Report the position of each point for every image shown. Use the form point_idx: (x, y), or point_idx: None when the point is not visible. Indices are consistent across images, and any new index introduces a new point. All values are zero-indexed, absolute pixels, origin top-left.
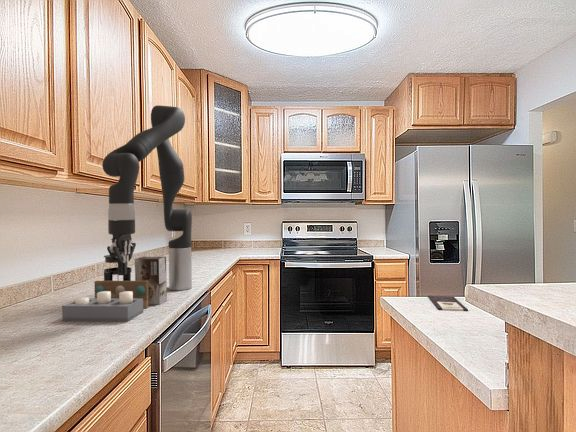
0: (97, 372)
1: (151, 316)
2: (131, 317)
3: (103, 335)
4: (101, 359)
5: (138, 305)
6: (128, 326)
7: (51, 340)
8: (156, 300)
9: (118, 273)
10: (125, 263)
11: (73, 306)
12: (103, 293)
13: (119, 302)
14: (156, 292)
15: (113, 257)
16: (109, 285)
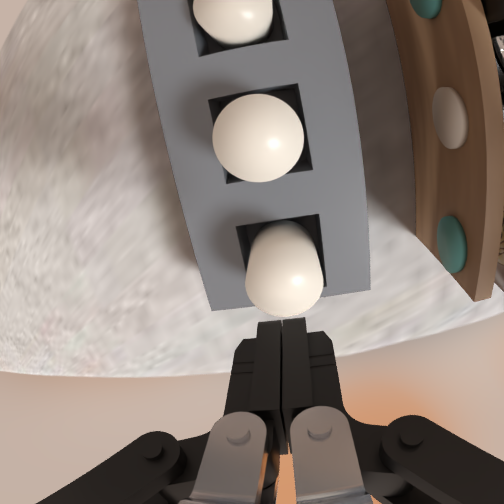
0: (15, 367)
1: (304, 316)
2: None
3: (92, 286)
4: (31, 354)
5: None
6: (179, 307)
7: (20, 179)
8: None
9: (243, 341)
10: (280, 450)
11: (145, 43)
12: (223, 163)
13: (257, 238)
14: None
15: (112, 483)
16: (456, 41)
